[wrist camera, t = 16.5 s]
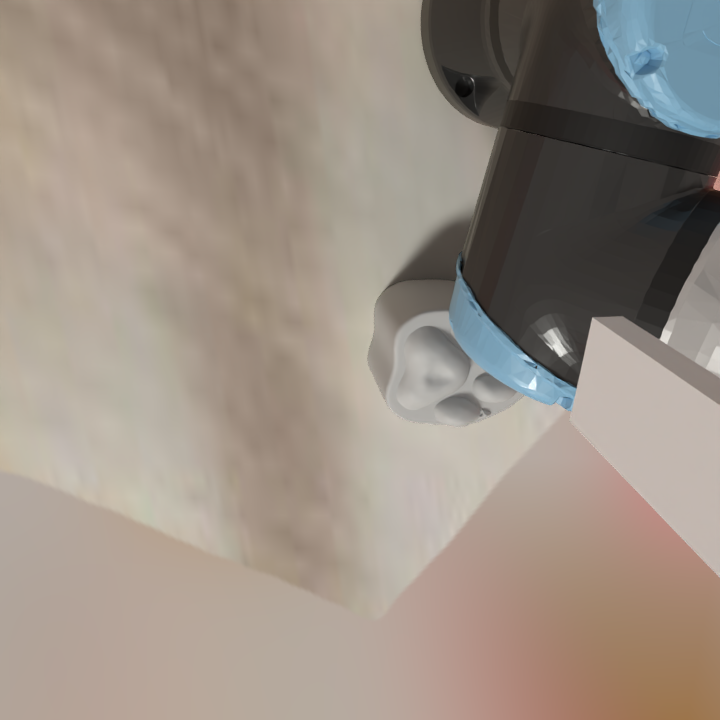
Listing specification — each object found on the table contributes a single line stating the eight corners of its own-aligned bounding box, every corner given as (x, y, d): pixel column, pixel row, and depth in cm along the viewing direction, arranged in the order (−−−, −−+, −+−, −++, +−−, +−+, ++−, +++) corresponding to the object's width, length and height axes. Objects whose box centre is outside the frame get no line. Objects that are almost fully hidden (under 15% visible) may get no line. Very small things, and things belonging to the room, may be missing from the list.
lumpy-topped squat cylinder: (379, 275, 52) (405, 311, 44) (519, 284, 55) (567, 320, 47) (362, 384, 56) (384, 435, 48) (494, 387, 59) (534, 436, 51)
